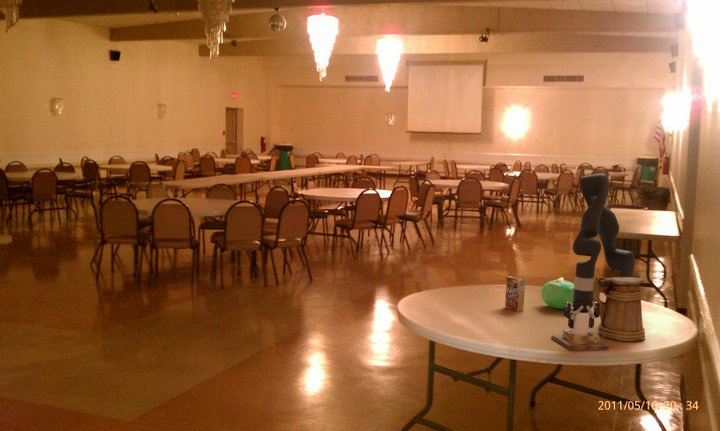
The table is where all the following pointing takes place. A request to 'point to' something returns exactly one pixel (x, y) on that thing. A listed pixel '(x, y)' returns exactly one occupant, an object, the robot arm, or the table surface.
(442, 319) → the table surface
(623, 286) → the tankard
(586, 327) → the can
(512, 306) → the candy box
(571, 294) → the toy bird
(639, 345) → the table surface
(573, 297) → the robot arm
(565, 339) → the socket stand
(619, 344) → the table surface
